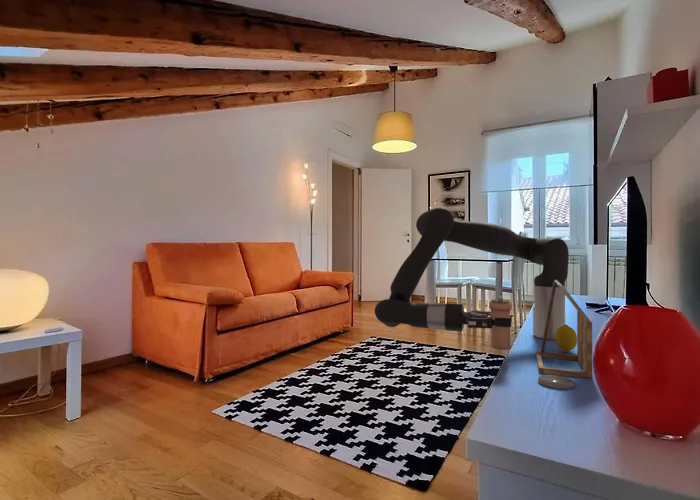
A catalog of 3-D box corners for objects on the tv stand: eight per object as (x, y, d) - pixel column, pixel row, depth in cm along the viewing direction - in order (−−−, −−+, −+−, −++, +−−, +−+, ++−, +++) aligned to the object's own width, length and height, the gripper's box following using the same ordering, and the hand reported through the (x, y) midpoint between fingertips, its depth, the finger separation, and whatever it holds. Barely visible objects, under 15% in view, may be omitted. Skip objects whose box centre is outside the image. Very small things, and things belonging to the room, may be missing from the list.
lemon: (556, 348, 113) (556, 322, 113) (578, 351, 110) (577, 324, 110) (553, 353, 109) (553, 325, 109) (576, 356, 106) (576, 327, 106)
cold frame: (536, 355, 107) (535, 279, 107) (581, 359, 102) (581, 280, 102) (539, 372, 92) (538, 284, 92) (592, 378, 88) (592, 285, 88)
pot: (485, 345, 104) (485, 295, 103) (505, 344, 104) (504, 294, 104) (495, 350, 98) (495, 297, 98) (516, 349, 99) (516, 297, 99)
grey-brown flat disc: (531, 378, 88) (531, 375, 88) (560, 377, 89) (560, 374, 89) (550, 390, 81) (550, 386, 81) (581, 388, 82) (581, 384, 82)
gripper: (440, 307, 100) (510, 311, 93) (449, 300, 113) (511, 302, 107) (440, 335, 100) (511, 341, 93) (449, 325, 113) (512, 329, 107)
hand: (511, 320), depth 100 cm, fingers closed on pot, 4 cm apart
